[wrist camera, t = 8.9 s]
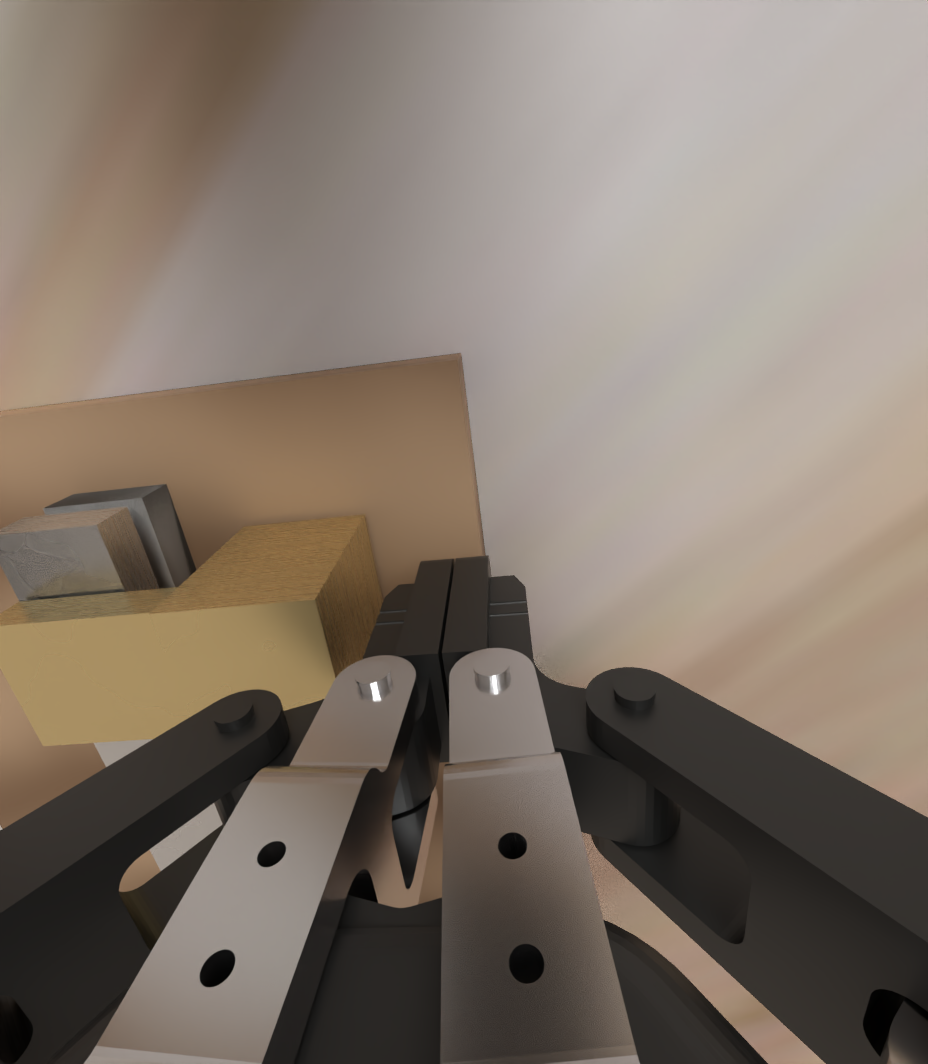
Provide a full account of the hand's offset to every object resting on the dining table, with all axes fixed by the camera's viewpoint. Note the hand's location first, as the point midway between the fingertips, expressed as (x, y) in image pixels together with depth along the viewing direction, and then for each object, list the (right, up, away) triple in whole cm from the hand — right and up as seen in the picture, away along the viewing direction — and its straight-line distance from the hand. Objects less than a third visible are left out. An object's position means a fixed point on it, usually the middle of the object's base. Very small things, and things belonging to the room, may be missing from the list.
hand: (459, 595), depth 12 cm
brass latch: (-6, 0, +2) cm, 6 cm away
